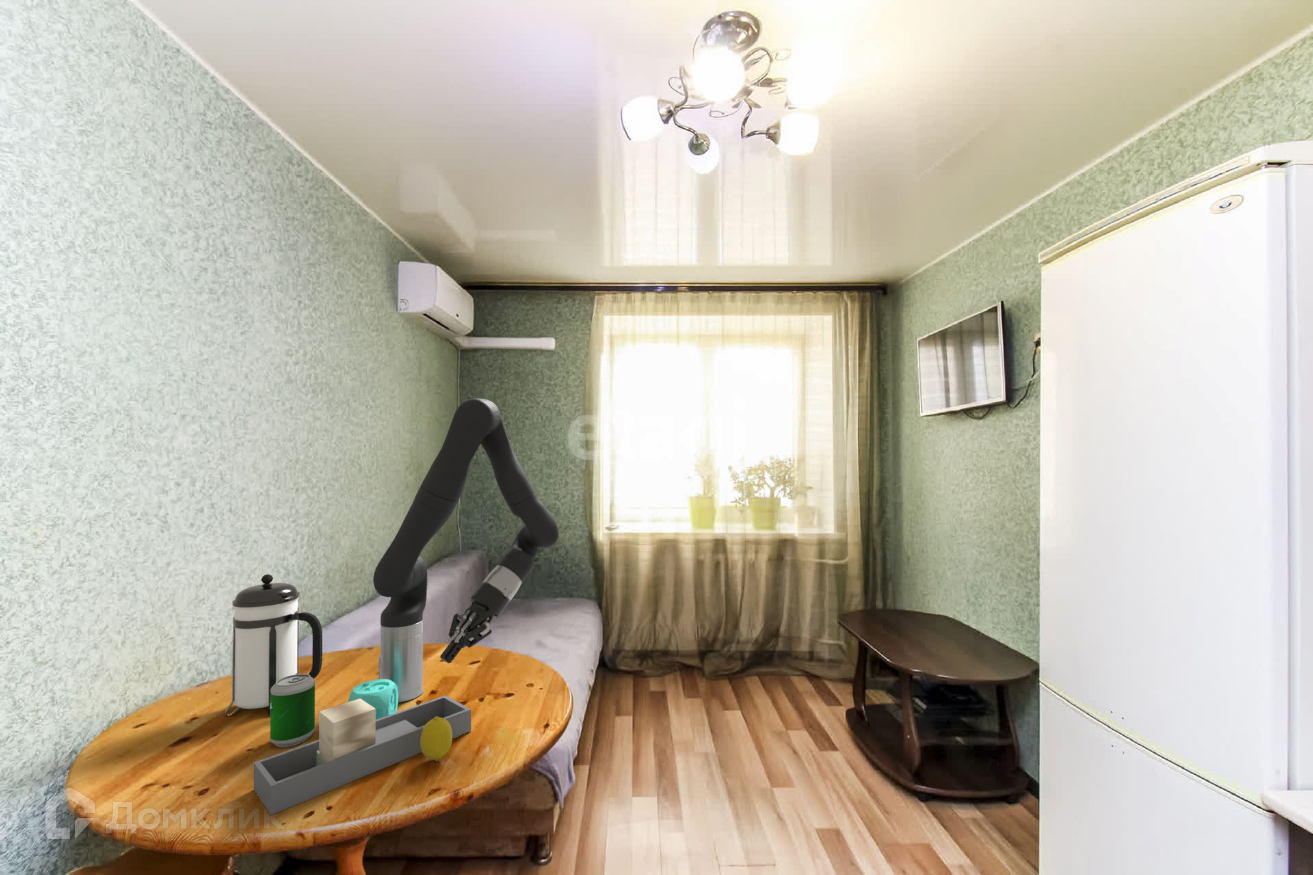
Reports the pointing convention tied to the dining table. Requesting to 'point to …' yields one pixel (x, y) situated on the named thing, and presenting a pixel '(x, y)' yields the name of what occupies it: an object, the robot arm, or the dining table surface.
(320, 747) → the ash block
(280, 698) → the soda can
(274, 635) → the coffee press
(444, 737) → the lemon
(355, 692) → the decorative dice
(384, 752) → the tray
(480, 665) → the dining table surface
